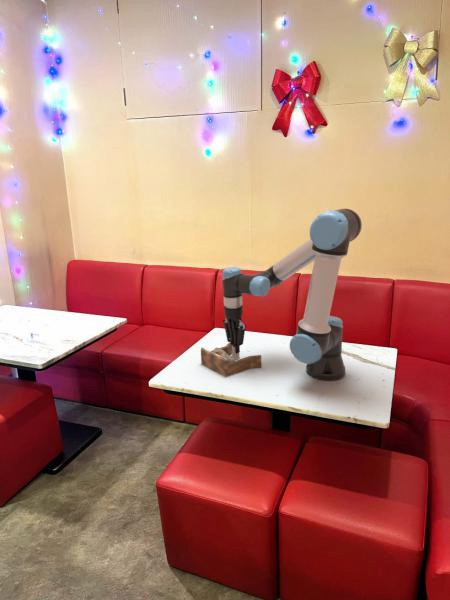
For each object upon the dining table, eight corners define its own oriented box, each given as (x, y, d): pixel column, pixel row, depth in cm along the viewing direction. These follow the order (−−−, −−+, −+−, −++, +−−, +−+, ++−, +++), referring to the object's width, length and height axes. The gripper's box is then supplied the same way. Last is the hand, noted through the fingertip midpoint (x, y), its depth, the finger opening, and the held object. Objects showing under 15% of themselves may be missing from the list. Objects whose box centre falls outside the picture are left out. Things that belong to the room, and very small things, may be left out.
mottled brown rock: (233, 369, 172) (219, 350, 170) (216, 375, 178) (202, 357, 176) (240, 358, 178) (227, 339, 176) (224, 364, 184) (210, 346, 182)
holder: (262, 367, 175) (262, 349, 173) (229, 379, 165) (228, 361, 163) (230, 352, 191) (230, 336, 189) (198, 363, 180) (197, 346, 178)
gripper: (250, 306, 170) (252, 361, 177) (230, 300, 180) (233, 352, 187) (236, 311, 166) (239, 366, 172) (216, 304, 176) (219, 357, 182)
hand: (235, 359), depth 179 cm, fingers closed, pressing on mottled brown rock
